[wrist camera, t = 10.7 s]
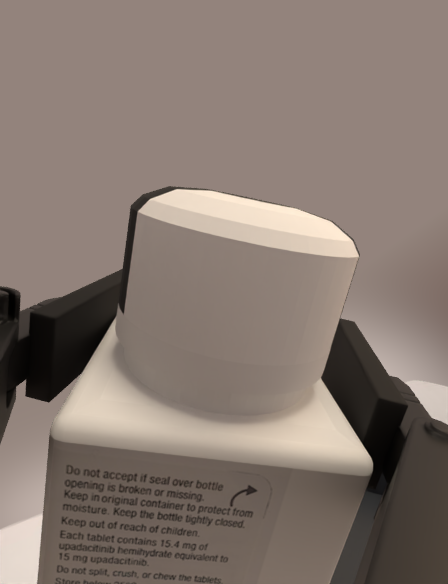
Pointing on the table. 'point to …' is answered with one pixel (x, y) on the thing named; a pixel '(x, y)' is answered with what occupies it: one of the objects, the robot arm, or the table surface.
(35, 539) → the table surface
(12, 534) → the table surface
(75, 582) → the container
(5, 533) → the table surface
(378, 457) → the robot arm
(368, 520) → the tub
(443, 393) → the table surface
